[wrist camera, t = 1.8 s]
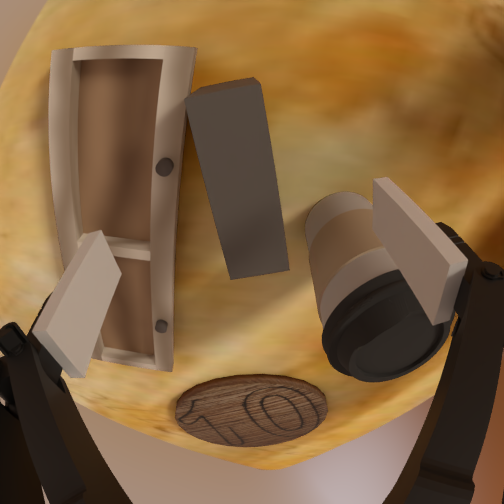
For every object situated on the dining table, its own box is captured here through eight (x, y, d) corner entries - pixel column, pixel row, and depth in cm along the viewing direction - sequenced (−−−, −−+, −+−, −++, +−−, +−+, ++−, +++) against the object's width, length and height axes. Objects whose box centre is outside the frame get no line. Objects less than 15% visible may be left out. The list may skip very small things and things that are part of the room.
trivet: (220, 445, 57) (220, 453, 56) (145, 391, 44) (143, 401, 42) (338, 419, 52) (340, 428, 51) (301, 352, 39) (303, 363, 38)
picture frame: (253, 77, 21) (260, 83, 15) (277, 214, 28) (289, 270, 21) (198, 87, 21) (180, 100, 15) (229, 222, 28) (227, 280, 22)
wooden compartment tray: (199, 48, 20) (193, 46, 17) (174, 355, 38) (171, 377, 35) (68, 49, 18) (46, 50, 15) (93, 341, 37) (86, 362, 34)
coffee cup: (400, 226, 29) (479, 340, 16) (330, 279, 32) (372, 408, 20) (350, 159, 25) (445, 266, 13) (271, 225, 28) (297, 367, 16)
